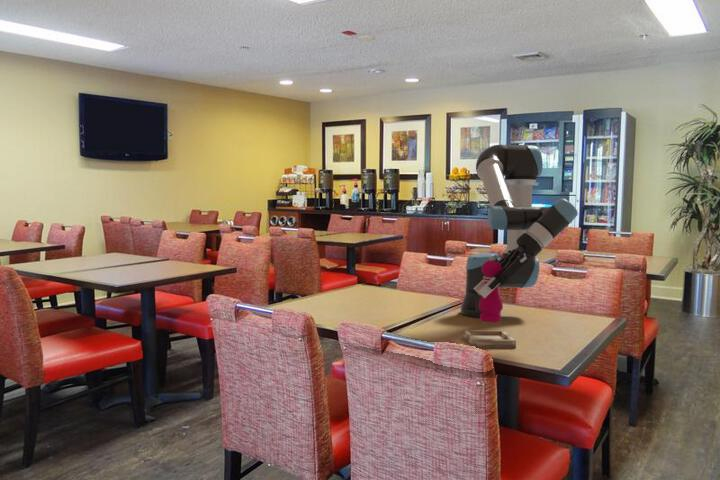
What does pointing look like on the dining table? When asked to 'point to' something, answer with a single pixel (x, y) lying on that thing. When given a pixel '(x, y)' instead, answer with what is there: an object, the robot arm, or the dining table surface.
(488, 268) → the pepper mill
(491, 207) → the robot arm
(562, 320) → the dining table surface
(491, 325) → the dining table surface
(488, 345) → the tray
